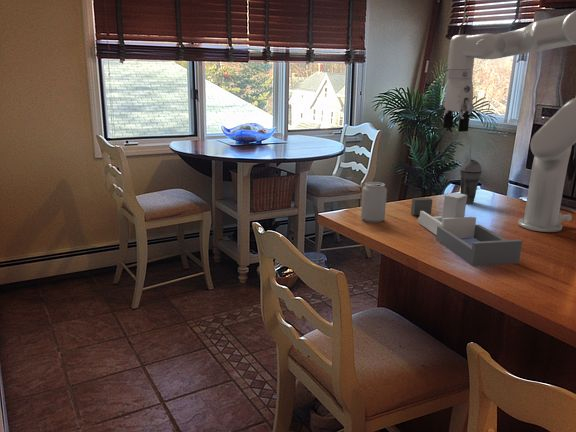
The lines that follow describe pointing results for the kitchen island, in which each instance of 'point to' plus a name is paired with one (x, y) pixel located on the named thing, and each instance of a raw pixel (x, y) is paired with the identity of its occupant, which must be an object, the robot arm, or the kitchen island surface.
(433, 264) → the kitchen island surface
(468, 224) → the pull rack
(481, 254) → the tray
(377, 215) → the can
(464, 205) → the skincare box
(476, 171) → the beverage cup
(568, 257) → the kitchen island surface
